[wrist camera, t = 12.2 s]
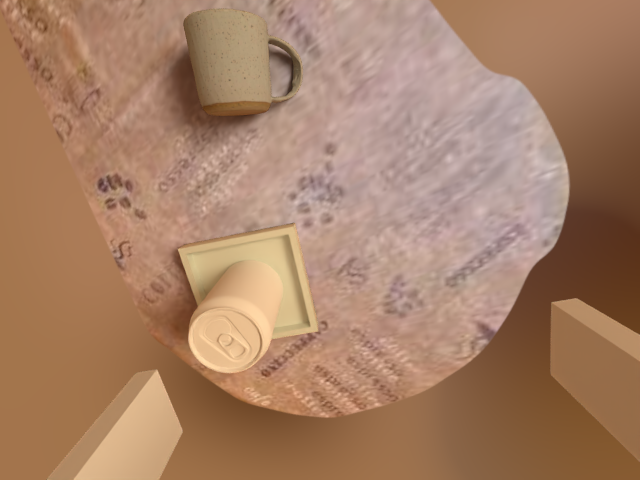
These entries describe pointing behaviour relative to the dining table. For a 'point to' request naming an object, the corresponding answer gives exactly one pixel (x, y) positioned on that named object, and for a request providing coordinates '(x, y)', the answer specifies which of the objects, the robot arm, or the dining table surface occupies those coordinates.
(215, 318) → the beverage can
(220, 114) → the ceramic mug
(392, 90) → the dining table surface
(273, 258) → the holder tray
